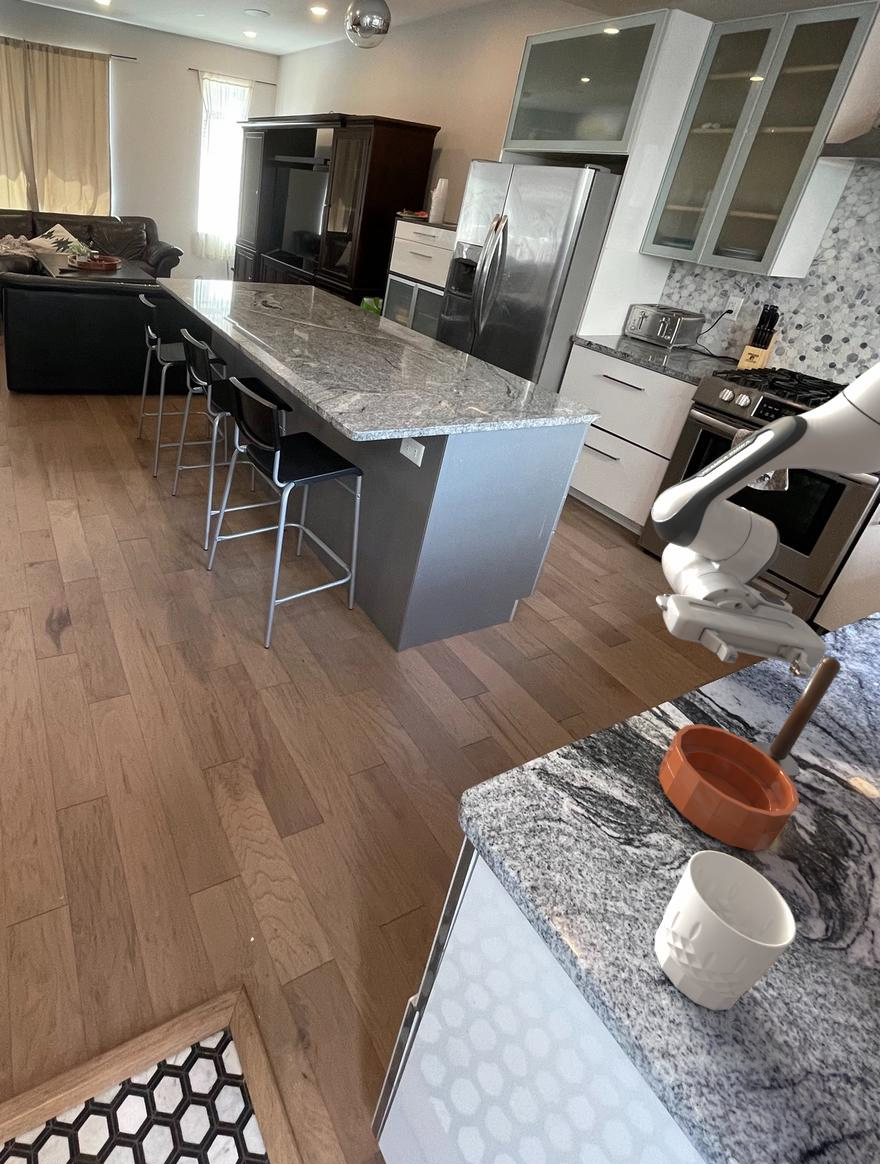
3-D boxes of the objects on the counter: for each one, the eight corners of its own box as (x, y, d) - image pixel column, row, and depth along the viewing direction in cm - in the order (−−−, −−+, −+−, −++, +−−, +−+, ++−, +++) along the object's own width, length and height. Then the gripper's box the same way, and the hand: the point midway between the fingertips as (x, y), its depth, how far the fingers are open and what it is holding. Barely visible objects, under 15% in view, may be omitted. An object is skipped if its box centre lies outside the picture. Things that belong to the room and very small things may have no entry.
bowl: (743, 773, 79) (763, 738, 76) (797, 866, 67) (823, 828, 65) (643, 750, 80) (660, 714, 78) (679, 837, 69) (701, 798, 66)
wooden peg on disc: (778, 757, 82) (844, 649, 75) (801, 791, 77) (872, 679, 70) (737, 748, 83) (798, 639, 76) (756, 780, 78) (823, 668, 71)
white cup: (649, 903, 61) (688, 833, 57) (741, 955, 58) (790, 885, 54) (644, 979, 55) (688, 906, 51) (747, 1043, 51) (803, 970, 48)
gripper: (659, 575, 97) (695, 630, 84) (799, 604, 94) (858, 664, 82) (644, 609, 99) (678, 667, 86) (781, 638, 97) (835, 701, 84)
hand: (767, 666), depth 84 cm, fingers open, 8 cm apart
